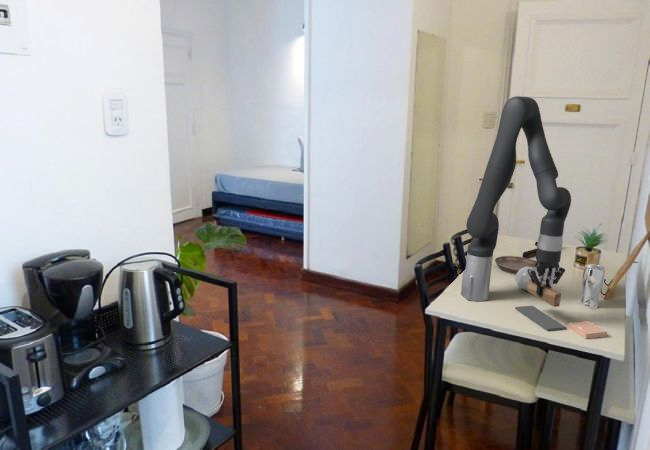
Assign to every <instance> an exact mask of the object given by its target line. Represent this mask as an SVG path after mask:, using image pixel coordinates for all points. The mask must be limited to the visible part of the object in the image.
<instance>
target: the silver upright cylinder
mask: <svg viewBox="0 0 650 450" xmlns="http://www.w3.org/2000/svg"><path fill="white" fill-rule="evenodd" d="M605 275H606V267H604V266H601V265H599V264H593V263H589V264H584V269H583V273H582V277H581V278H582V280H581V284H582V285H581V287H582V290H581V291H582V295H581V298H580V302H579V305H580V306H582V307H584V308H587V309H594V310H595V309H597V308H599V297H600V295H601V291H602V288H603V286H604V283H605Z"/></svg>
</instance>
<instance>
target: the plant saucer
mask: <svg viewBox="0 0 650 450" xmlns="http://www.w3.org/2000/svg"><path fill="white" fill-rule="evenodd" d="M494 262H495V264H496V266H498V268H499V269H500V270H502V271H504V272H506V273H509V274H512V275H516V273H517V272H518V271H519V270H520V269H521V268H524V267H526V266H527V267H532V268H534V267H535V264H536V262H537V261H536V259H535V260H534V259H532V258H523V257H522V256H516V255H513V256H512V255H503V256H498V257H496V258H494Z"/></svg>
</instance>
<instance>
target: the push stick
mask: <svg viewBox="0 0 650 450" xmlns="http://www.w3.org/2000/svg"><path fill="white" fill-rule="evenodd" d="M543 287H544V288H543V295H542V297H540V296H538V295H537V293H536V291H537V285H536V284H534V283H532V281H531V279H529V283H528V290H526V291H527V292H528V293H530V294H531V295H533V296H535V297H536V298H538V299H540V300H541V301H543V302H545V303H546V304H547V305H550V306H552V307H554V308H556V307H557V308H558V307H560V304H561V297H562V293H560V292H558V291H557V290H555V289H553V288H552V289H551V288H550V287H547V286H545V285H544V286H543Z"/></svg>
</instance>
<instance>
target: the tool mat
mask: <svg viewBox="0 0 650 450" xmlns="http://www.w3.org/2000/svg"><path fill="white" fill-rule="evenodd" d="M514 309H515V310H516V311H517V312H519V313H520V314H522V315H523V316H524V317H526V318H527V319H529V320H530V321H532V322H533V323H535V324H536V325H537V326H538V327H541V328H542V329H544V330H545V331H546V332H553V331H565V330H567V326H565V325H564V324H562V323H560V322H559V321H557V320H556V319H554V317H551V316H550V315H548V314H546V313H545V312H544V311H542V310H540V309H538V308H537V307H536V306H534V305H523V306H522V305H521V306H515V308H514Z"/></svg>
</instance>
